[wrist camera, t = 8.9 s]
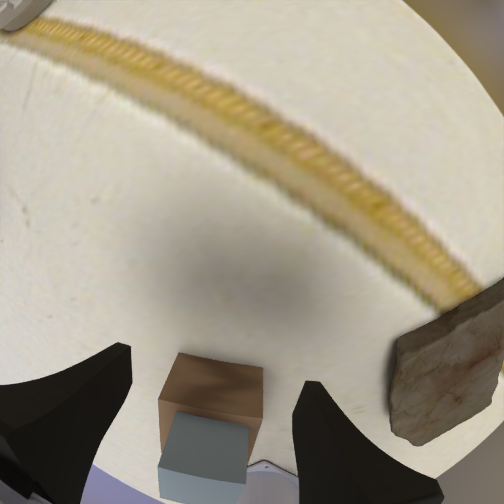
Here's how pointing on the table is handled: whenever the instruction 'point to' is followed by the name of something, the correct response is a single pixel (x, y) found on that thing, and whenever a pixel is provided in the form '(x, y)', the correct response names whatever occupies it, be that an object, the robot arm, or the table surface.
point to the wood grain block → (212, 394)
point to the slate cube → (203, 461)
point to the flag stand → (19, 12)
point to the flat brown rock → (448, 368)
